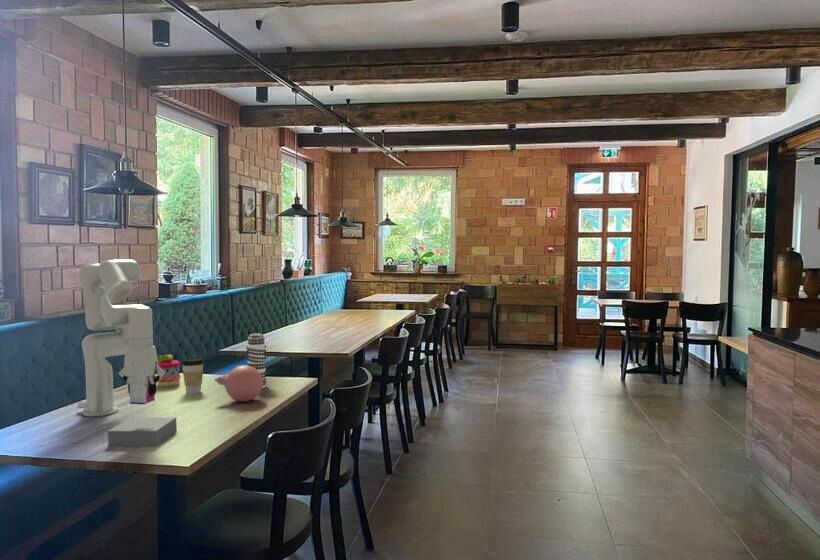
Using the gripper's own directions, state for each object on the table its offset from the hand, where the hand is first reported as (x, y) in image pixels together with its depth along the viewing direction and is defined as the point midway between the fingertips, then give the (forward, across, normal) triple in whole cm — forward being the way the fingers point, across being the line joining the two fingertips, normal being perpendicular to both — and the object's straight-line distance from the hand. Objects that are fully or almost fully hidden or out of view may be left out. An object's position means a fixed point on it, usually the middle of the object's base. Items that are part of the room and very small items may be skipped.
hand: (142, 394), depth 202 cm
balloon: (+15, +17, +50) cm, 55 cm away
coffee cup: (+15, -9, +66) cm, 68 cm away
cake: (+15, -27, +81) cm, 87 cm away
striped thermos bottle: (+15, +17, +77) cm, 80 cm away
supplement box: (+3, 0, 0) cm, 3 cm away
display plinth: (+15, 0, 0) cm, 15 cm away
